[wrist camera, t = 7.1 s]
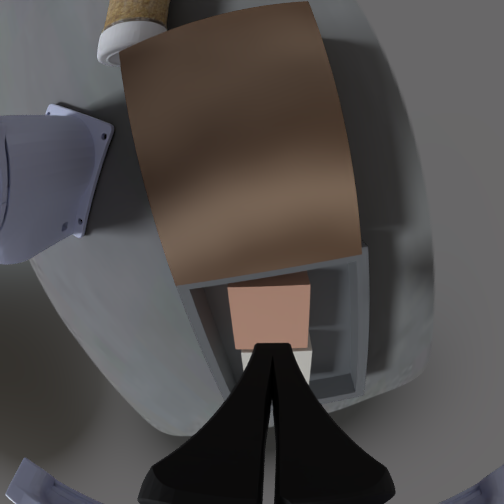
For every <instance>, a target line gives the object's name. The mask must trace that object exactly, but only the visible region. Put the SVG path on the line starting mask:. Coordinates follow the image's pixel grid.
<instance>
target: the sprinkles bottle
mask: <svg viewBox="0 0 504 504" xmlns="http://www.w3.org/2000/svg"><path fill="white" fill-rule="evenodd" d="M170 1H171V0H110V4H109V8H108V12H107V17H106V22H105V27H104V29H103V30H102V33H101V36H100V38H99V45H98V52H97V59H98V60H99V62H101V63H102V64H105V65H108V66H114V67H121V66H120V58H119V52H120V51H122V50H124V49H126V48H128V47H130V46H132V45H135V44H137V43H139V42H141V41H143V40H146V39H148V38H150V37H153V36H155V35H158V34H160V33H163V32H166V31H167V25H166V23H167V16H168V8H169V3H170Z"/></svg>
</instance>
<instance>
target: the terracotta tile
mask: <svg viewBox="0 0 504 504" xmlns="http://www.w3.org/2000/svg"><path fill="white" fill-rule="evenodd" d="M227 288H228V296H229V304H230V312H231V320H232V327H233V334H234V342H235V349H254V345H255V344H256V343H289V344H291V347H292V348H307V345H308V329H309V310H310V281H309V277H308V274H307V270H306V271H301V272H295V273H289V274H283V275H277V276H272V277H266V278H259V279H253V280H247V281H241V282H235V283H229V284H228V287H227Z"/></svg>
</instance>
